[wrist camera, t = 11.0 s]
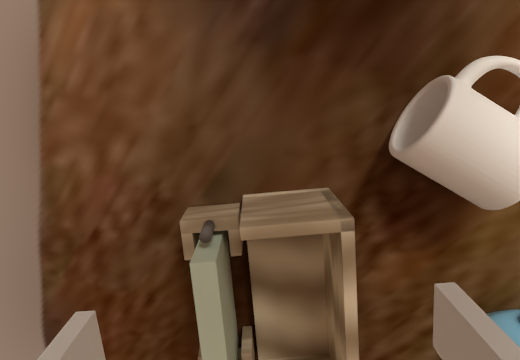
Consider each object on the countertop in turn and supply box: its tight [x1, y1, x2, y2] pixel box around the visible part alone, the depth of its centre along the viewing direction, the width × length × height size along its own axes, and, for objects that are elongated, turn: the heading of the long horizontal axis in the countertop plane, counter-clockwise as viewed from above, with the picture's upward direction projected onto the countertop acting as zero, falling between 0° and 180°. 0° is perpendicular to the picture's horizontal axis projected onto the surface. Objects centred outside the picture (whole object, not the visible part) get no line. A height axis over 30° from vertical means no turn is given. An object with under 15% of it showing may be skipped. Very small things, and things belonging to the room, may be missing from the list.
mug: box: [389, 56, 520, 210], centre depth 33 cm, size 12×10×8 cm
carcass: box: [179, 188, 359, 360], centre depth 35 cm, size 19×14×10 cm
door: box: [189, 230, 238, 360], centre depth 35 cm, size 14×3×10 cm, turn 5°
